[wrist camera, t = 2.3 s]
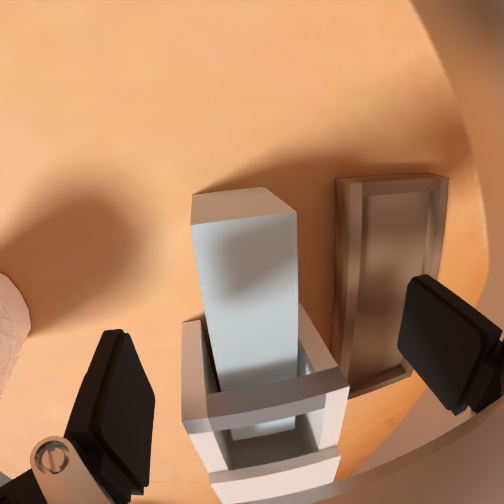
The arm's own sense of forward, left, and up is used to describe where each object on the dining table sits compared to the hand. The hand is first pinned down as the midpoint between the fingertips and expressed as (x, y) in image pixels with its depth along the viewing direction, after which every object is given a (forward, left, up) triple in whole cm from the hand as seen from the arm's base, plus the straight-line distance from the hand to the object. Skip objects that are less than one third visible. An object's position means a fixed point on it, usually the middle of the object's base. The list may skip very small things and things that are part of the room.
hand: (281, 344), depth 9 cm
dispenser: (+11, 0, -9) cm, 14 cm away
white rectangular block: (+4, 0, -10) cm, 10 cm away
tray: (+6, +10, -9) cm, 15 cm away
